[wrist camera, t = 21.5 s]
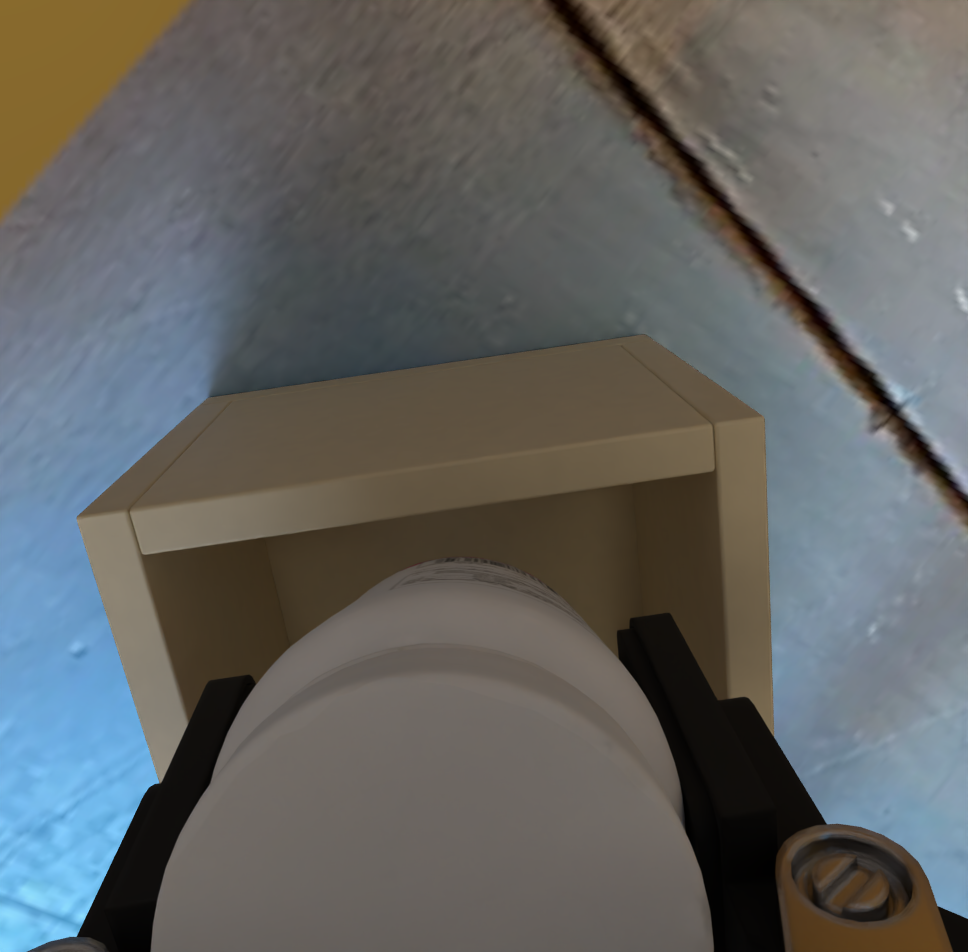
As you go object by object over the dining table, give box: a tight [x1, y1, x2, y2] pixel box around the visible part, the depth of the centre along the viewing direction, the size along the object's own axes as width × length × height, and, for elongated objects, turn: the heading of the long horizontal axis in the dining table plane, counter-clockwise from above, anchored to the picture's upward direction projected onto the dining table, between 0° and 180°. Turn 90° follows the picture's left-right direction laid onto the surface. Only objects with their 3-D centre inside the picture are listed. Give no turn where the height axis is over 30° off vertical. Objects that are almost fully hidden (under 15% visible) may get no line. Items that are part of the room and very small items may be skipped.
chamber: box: [77, 334, 774, 783], centre depth 19 cm, size 13×11×8 cm
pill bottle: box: [151, 557, 714, 952], centre depth 10 cm, size 5×5×8 cm
